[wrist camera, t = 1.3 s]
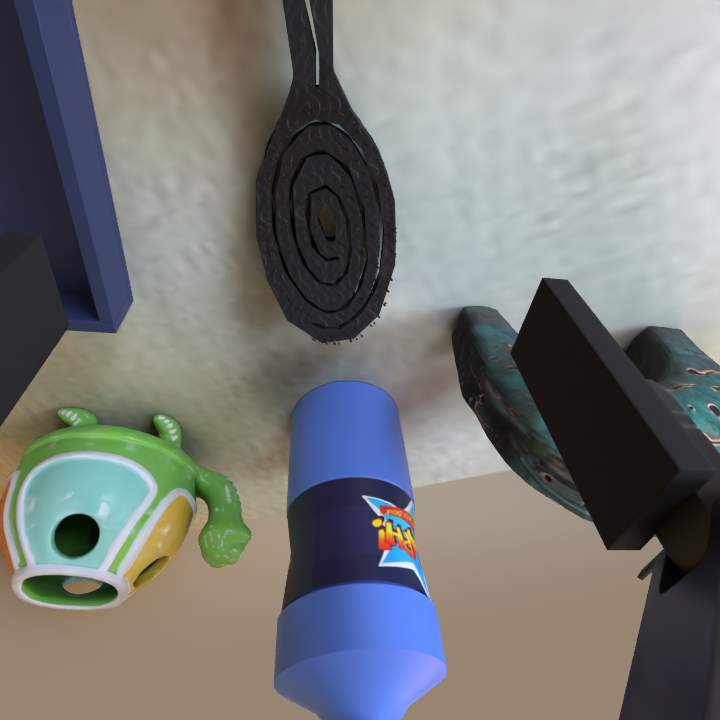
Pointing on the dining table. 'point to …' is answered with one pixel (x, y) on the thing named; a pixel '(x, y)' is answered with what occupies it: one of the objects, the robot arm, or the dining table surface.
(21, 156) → the tray
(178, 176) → the dining table surface
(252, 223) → the dining table surface
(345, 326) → the hairbrush
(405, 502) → the water bottle
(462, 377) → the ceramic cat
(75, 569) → the turtle holder
